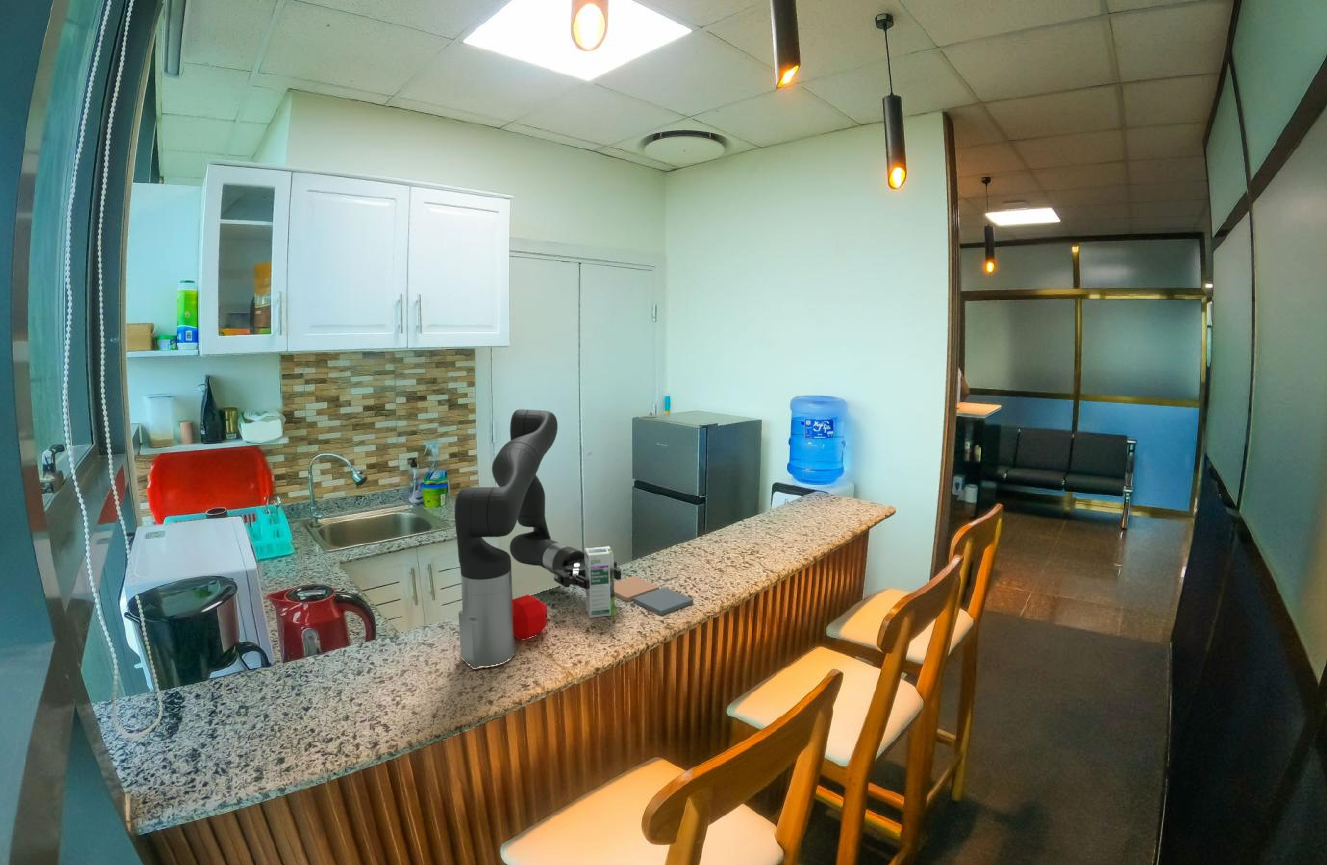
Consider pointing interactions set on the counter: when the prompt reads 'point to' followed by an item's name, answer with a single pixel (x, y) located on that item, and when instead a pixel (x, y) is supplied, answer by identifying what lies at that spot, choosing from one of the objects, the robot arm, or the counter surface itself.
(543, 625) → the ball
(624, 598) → the terracotta tile
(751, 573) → the counter surface
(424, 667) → the counter surface
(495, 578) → the robot arm
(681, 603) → the slate tile
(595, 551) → the syrup box
